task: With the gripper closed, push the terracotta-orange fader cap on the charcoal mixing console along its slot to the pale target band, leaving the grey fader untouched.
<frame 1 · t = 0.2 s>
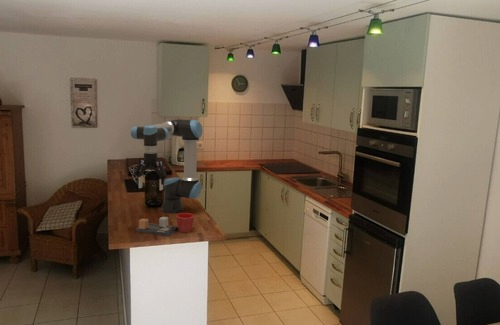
hand: (150, 188, 244), 27 cm above the countertop, fingers open, 13 cm apart
flower pot: (185, 230, 256), on the countertop
fader 2: (163, 221, 256), point 5 cm above the countertop, slide at 9.0 cm
fader 1: (143, 223, 252), point 5 cm above the countertop, slide at 0.0 cm
console: (157, 230, 254), on the countertop
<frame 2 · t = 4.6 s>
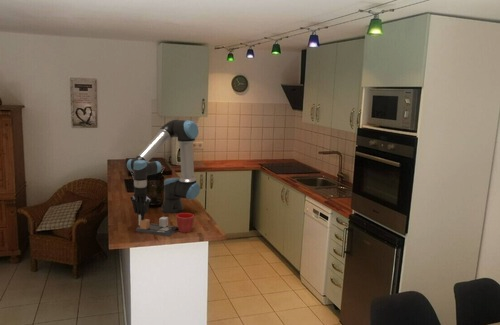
hand: (141, 224, 252), 4 cm above the countertop, fingers closed
fader 1: (145, 224, 251), point 5 cm above the countertop, slide at 0.9 cm, touching gripper
everything else where it was.
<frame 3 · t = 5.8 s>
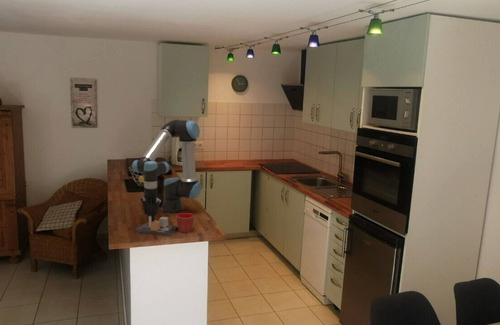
hand: (151, 226, 250), 4 cm above the countertop, fingers closed
fader 1: (155, 225, 249), point 5 cm above the countertop, slide at 7.9 cm, touching gripper
everything else where it was.
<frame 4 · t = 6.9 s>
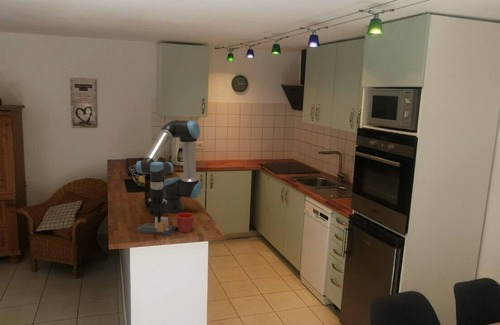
hand: (157, 227, 249), 4 cm above the countertop, fingers closed
fader 1: (161, 226, 248), point 5 cm above the countertop, slide at 11.9 cm, touching gripper
everything else where it was.
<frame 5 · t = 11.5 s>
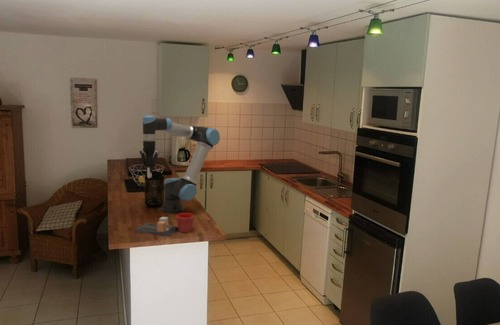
hand: (149, 177, 265), 29 cm above the countertop, fingers closed
fader 1: (161, 226, 248), point 5 cm above the countertop, slide at 12.2 cm
everything else where it was.
at the end: fader 1 slide at 12.2 cm; fader 2 slide at 9.0 cm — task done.
